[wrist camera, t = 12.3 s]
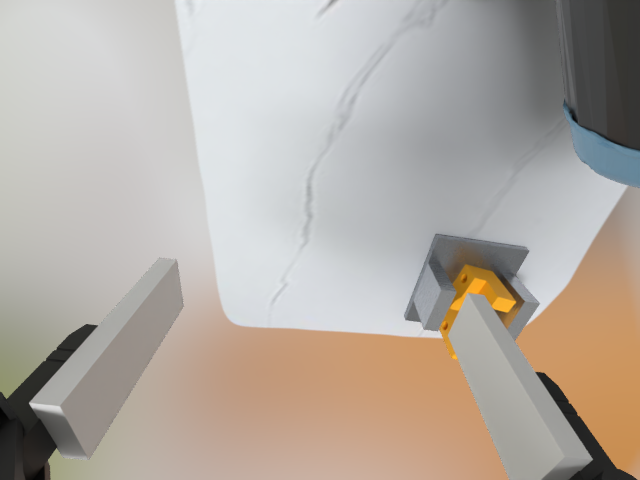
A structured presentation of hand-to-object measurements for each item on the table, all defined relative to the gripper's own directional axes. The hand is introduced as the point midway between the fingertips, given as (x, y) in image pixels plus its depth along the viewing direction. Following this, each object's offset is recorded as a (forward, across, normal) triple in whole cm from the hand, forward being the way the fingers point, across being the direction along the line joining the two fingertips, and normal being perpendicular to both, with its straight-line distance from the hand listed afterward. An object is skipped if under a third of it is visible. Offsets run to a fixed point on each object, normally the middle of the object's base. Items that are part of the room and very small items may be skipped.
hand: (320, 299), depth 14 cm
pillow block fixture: (+27, +23, -17) cm, 39 cm away
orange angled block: (+26, +23, -19) cm, 39 cm away
